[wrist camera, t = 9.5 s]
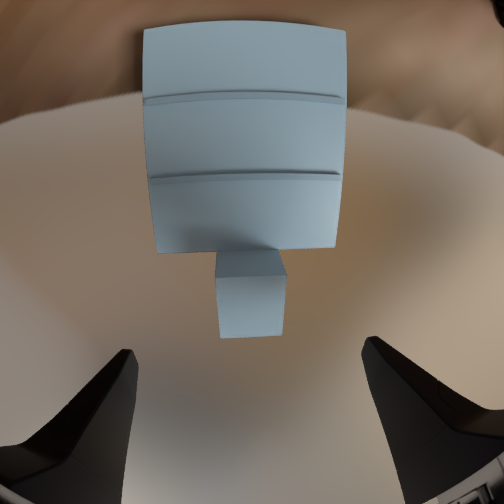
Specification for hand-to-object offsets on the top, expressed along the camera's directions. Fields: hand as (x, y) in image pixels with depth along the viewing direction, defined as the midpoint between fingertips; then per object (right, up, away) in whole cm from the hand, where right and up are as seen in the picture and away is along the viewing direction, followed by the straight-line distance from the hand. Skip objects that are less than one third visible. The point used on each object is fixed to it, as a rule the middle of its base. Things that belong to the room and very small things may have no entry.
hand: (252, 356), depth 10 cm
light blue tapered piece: (0, +8, +4) cm, 9 cm away
